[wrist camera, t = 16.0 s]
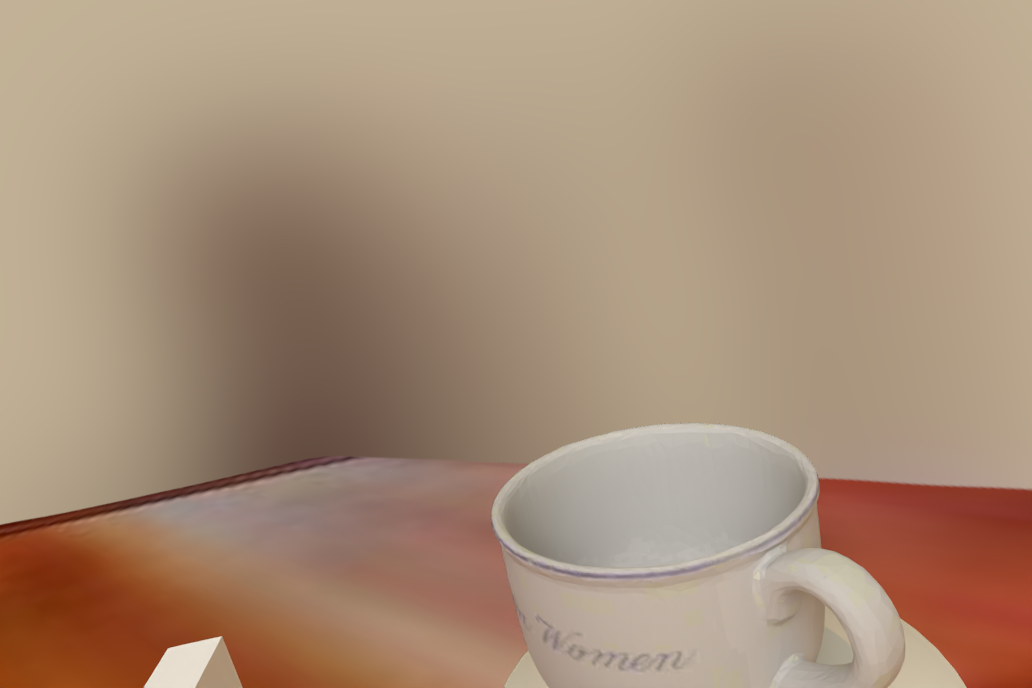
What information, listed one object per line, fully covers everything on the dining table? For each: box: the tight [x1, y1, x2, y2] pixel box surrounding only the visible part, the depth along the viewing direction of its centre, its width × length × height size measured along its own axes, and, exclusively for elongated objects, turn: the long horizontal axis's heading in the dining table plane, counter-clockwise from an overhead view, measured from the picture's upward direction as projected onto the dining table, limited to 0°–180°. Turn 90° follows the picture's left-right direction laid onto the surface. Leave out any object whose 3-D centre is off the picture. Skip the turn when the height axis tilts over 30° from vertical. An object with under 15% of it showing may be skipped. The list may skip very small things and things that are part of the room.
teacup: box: [491, 423, 906, 688], centre depth 24 cm, size 14×11×8 cm
